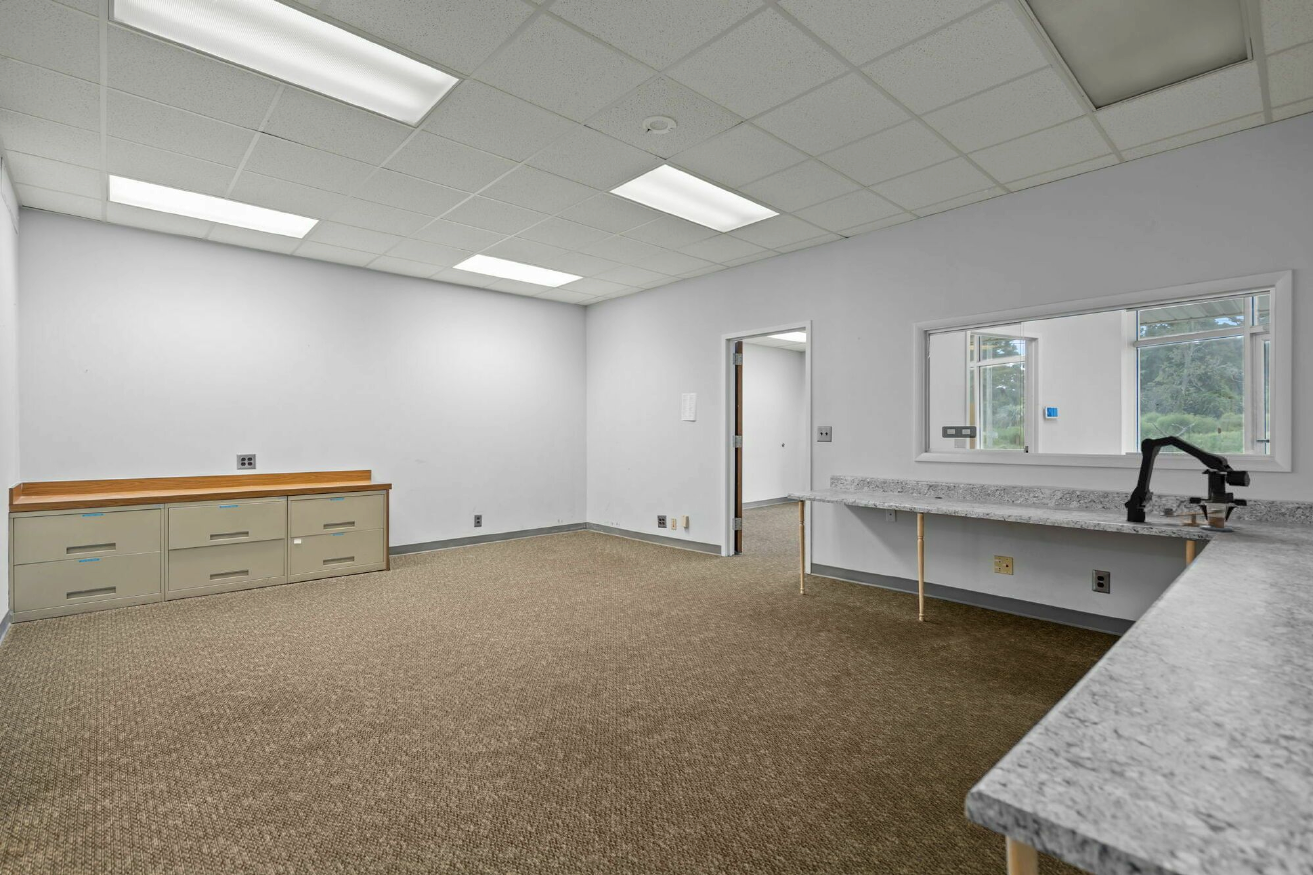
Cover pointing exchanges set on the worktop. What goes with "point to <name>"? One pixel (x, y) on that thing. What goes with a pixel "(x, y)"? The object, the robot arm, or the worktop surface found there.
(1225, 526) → the dish
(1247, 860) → the worktop surface
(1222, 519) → the block
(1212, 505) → the mug
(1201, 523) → the balance
